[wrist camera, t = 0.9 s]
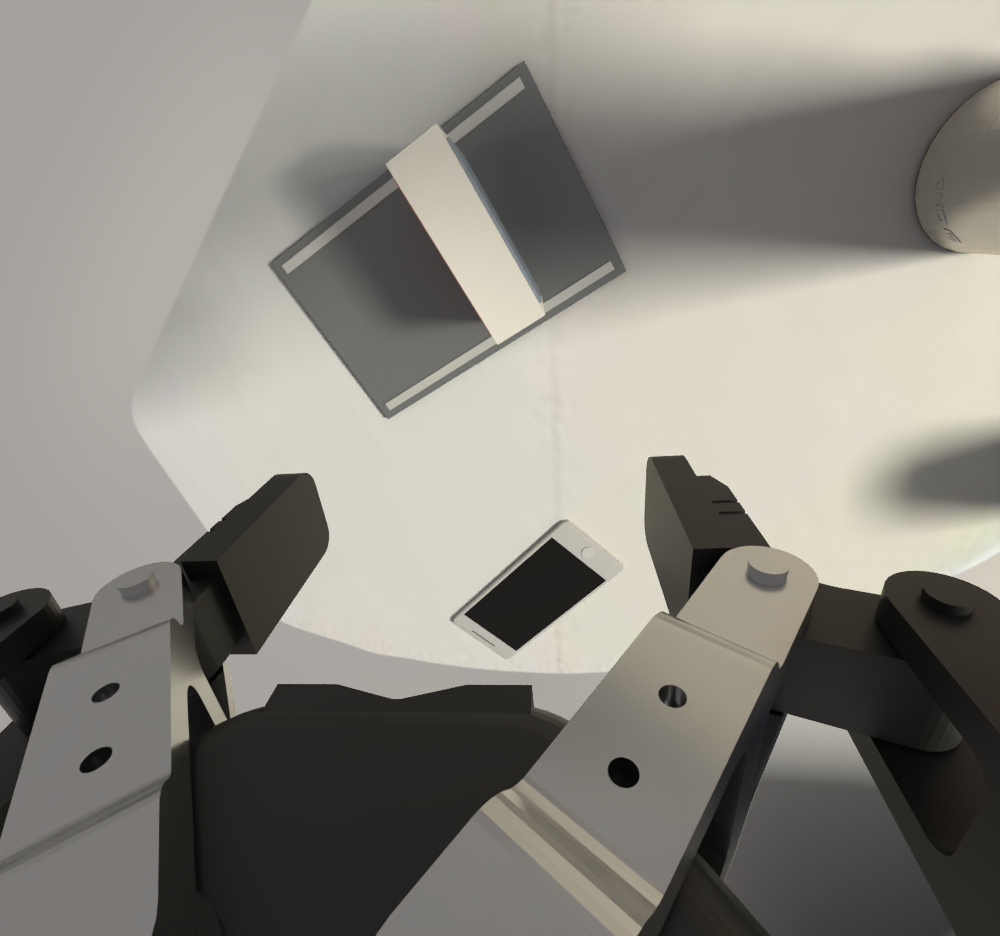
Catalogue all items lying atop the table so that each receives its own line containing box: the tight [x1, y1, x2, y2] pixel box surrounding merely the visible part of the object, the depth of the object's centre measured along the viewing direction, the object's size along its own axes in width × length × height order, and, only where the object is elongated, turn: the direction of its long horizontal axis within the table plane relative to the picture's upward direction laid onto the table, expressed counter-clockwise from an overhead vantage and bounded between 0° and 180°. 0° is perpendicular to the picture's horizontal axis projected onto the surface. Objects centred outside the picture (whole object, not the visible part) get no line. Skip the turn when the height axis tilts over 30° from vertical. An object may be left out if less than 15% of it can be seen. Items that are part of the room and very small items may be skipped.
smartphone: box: [453, 520, 623, 659], centre depth 45 cm, size 7×15×1 cm, turn 139°
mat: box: [271, 61, 626, 419], centre depth 33 cm, size 20×13×1 cm, turn 122°
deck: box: [386, 123, 545, 345], centre depth 28 cm, size 3×10×8 cm, turn 32°
